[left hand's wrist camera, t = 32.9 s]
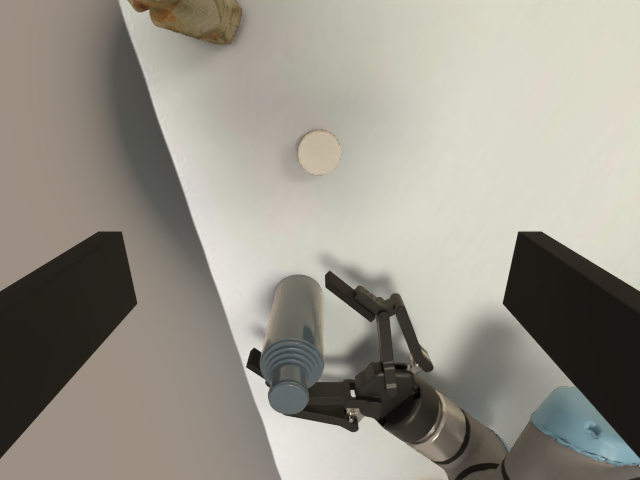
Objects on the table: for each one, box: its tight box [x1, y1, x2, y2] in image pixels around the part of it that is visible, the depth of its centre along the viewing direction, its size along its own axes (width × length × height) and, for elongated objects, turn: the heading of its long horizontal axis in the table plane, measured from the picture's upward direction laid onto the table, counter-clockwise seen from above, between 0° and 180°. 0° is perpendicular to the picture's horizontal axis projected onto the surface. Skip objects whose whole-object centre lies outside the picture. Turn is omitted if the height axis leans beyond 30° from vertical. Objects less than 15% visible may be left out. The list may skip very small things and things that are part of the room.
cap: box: [298, 129, 341, 175], centre depth 39 cm, size 5×5×2 cm
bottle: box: [260, 275, 324, 414], centre depth 39 cm, size 6×6×17 cm
